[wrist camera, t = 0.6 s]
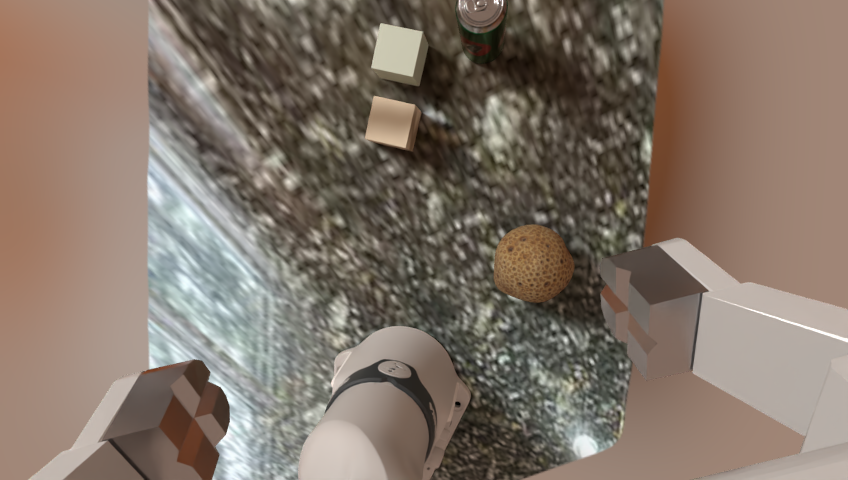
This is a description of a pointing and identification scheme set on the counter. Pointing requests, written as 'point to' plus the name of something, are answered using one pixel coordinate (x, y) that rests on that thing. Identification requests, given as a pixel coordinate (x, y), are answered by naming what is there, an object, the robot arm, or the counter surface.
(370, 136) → the birch block
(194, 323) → the counter surface
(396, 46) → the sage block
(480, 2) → the soda can
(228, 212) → the counter surface
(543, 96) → the counter surface
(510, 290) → the natural sponge
